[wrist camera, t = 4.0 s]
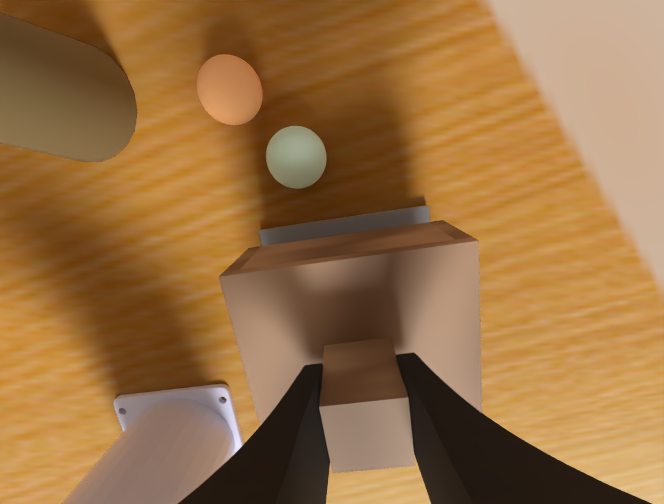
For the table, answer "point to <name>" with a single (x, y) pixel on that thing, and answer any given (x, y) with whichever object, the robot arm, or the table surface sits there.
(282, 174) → the mint ball
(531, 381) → the table surface
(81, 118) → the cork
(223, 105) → the terracotta ball
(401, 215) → the plate
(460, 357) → the walnut cover
